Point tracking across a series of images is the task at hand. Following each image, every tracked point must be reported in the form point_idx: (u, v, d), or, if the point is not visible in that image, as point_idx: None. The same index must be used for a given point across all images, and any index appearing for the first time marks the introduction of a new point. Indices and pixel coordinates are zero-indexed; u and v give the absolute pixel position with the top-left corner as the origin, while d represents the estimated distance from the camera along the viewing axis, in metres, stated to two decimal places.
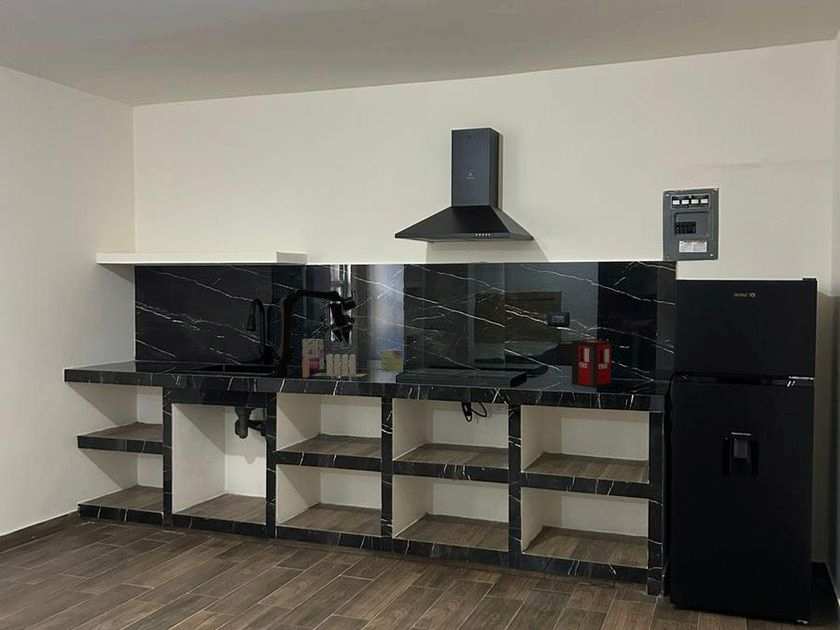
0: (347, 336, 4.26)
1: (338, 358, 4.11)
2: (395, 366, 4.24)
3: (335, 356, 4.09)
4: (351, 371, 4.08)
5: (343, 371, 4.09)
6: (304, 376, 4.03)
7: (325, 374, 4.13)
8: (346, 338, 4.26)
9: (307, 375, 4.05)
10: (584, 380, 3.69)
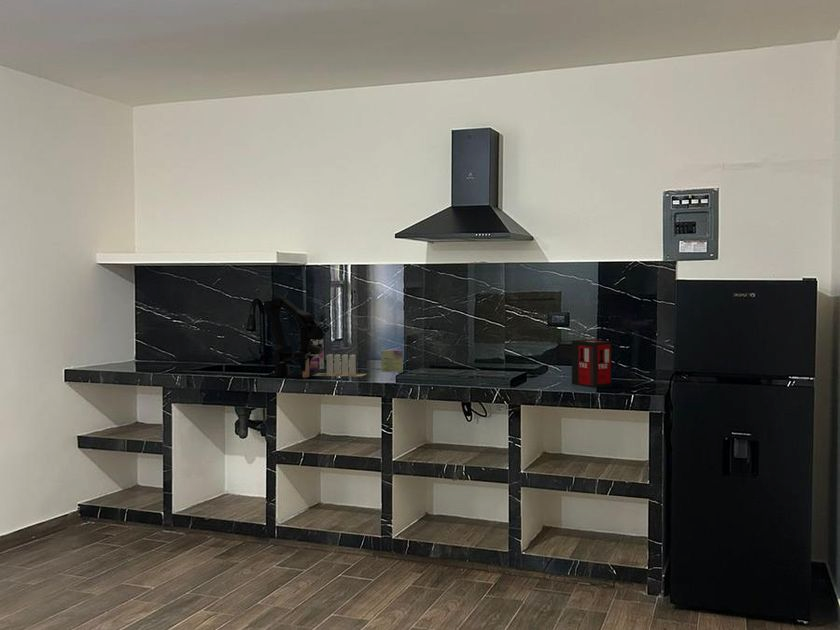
0: (303, 364, 4.01)
1: (338, 358, 4.11)
2: (395, 366, 4.24)
3: (335, 356, 4.09)
4: (351, 371, 4.08)
5: (343, 371, 4.09)
6: (304, 376, 4.03)
7: (325, 374, 4.13)
8: (301, 365, 4.02)
9: (307, 375, 4.05)
10: (584, 380, 3.69)
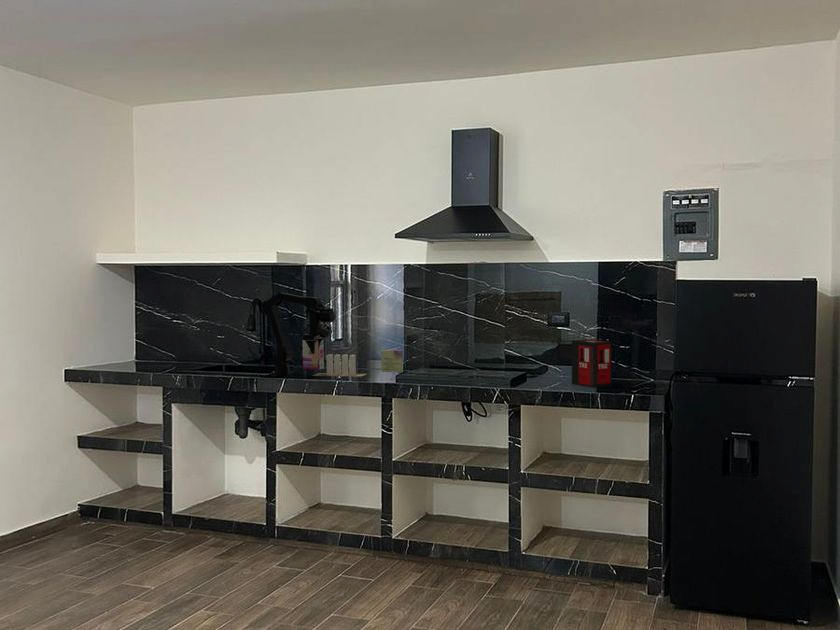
0: (312, 346, 4.06)
1: (338, 358, 4.11)
2: (395, 366, 4.24)
3: (335, 356, 4.09)
4: (351, 371, 4.08)
5: (343, 371, 4.09)
6: (313, 358, 4.07)
7: (325, 374, 4.13)
8: (311, 348, 4.06)
9: (316, 358, 4.10)
10: (584, 380, 3.69)
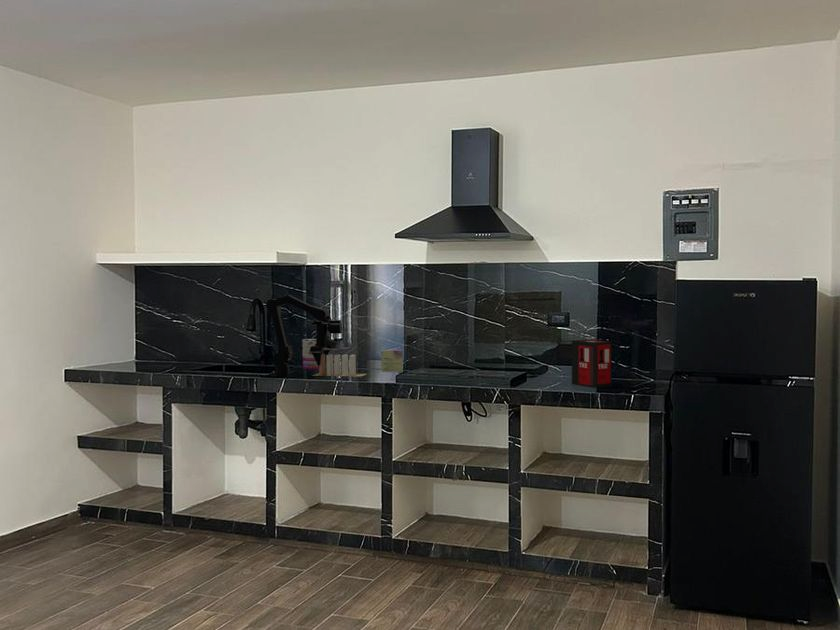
0: (318, 358, 4.08)
1: (338, 358, 4.11)
2: (395, 366, 4.24)
3: (335, 356, 4.09)
4: (351, 371, 4.08)
5: (343, 371, 4.09)
6: (321, 372, 4.12)
7: (325, 374, 4.13)
8: (317, 360, 4.08)
9: (323, 371, 4.14)
10: (584, 380, 3.69)
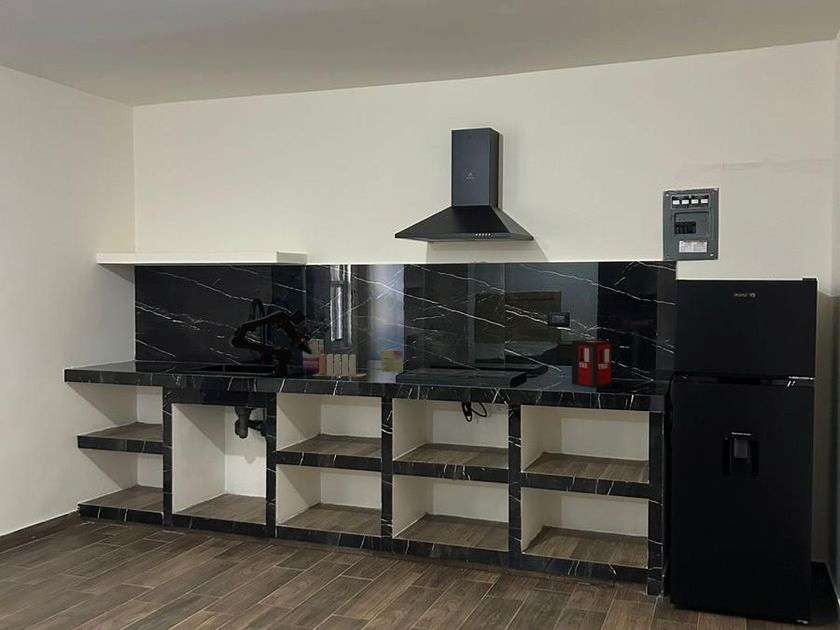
0: (305, 348, 4.14)
1: (338, 358, 4.11)
2: (395, 366, 4.24)
3: (335, 356, 4.09)
4: (351, 371, 4.08)
5: (343, 371, 4.09)
6: (321, 372, 4.12)
7: (325, 374, 4.13)
8: (306, 350, 4.14)
9: (323, 371, 4.14)
10: (584, 380, 3.69)
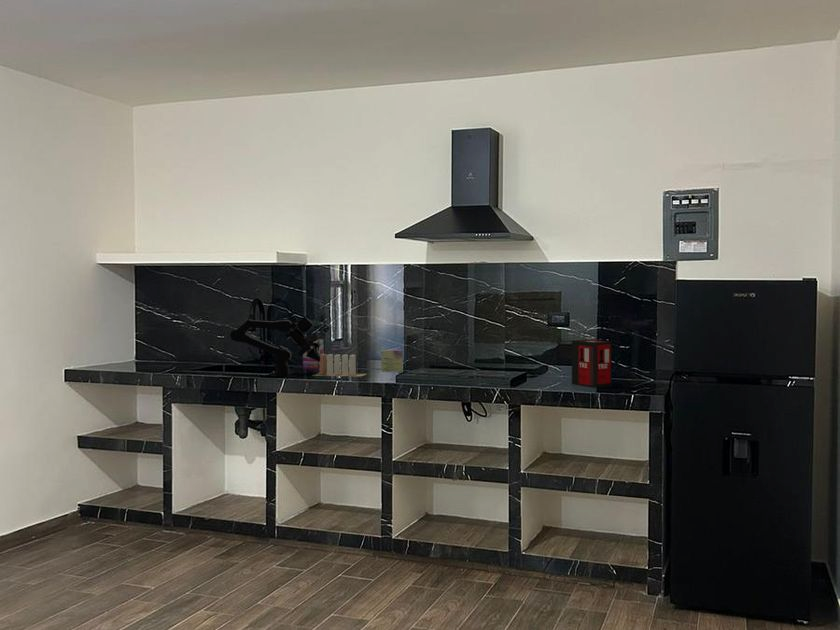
0: (315, 356, 4.13)
1: (338, 358, 4.11)
2: (395, 366, 4.24)
3: (335, 356, 4.09)
4: (351, 371, 4.08)
5: (343, 371, 4.09)
6: (321, 371, 4.11)
7: (325, 374, 4.13)
8: (315, 358, 4.13)
9: (324, 371, 4.14)
10: (584, 380, 3.69)
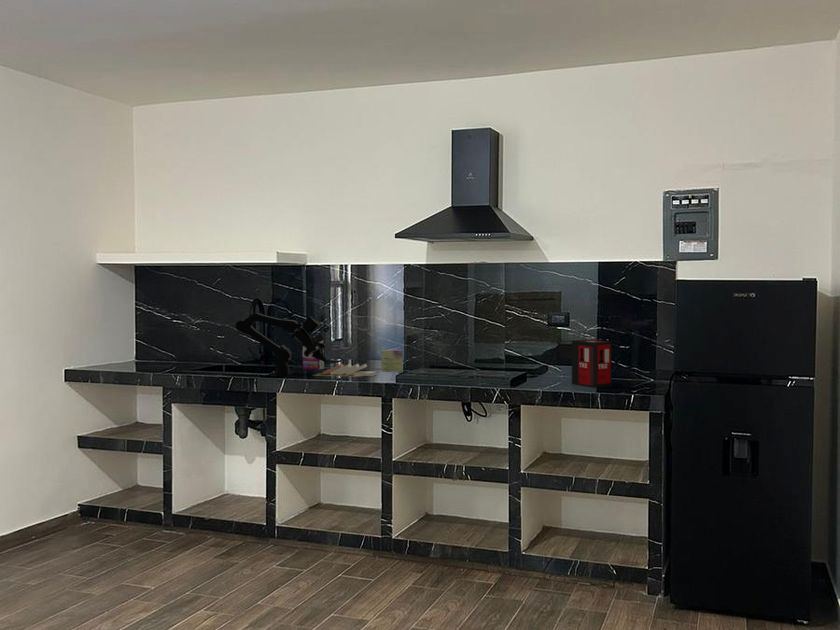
0: (320, 356, 4.12)
1: None
2: (395, 366, 4.24)
3: (355, 366, 4.08)
4: (357, 374, 4.07)
5: (349, 372, 4.08)
6: (325, 372, 4.11)
7: (325, 374, 4.13)
8: (321, 358, 4.12)
9: None
10: (584, 380, 3.69)
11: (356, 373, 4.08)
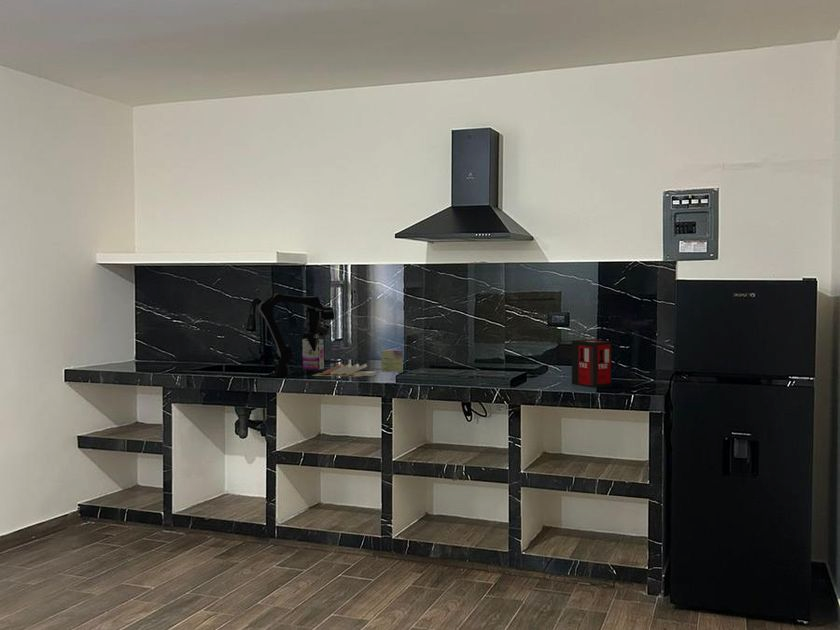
0: (313, 344, 4.21)
1: None
2: (395, 366, 4.24)
3: (355, 366, 4.08)
4: (357, 374, 4.07)
5: (349, 372, 4.08)
6: (325, 372, 4.11)
7: (325, 374, 4.13)
8: (312, 345, 4.22)
9: None
10: (584, 380, 3.69)
11: (356, 373, 4.08)
